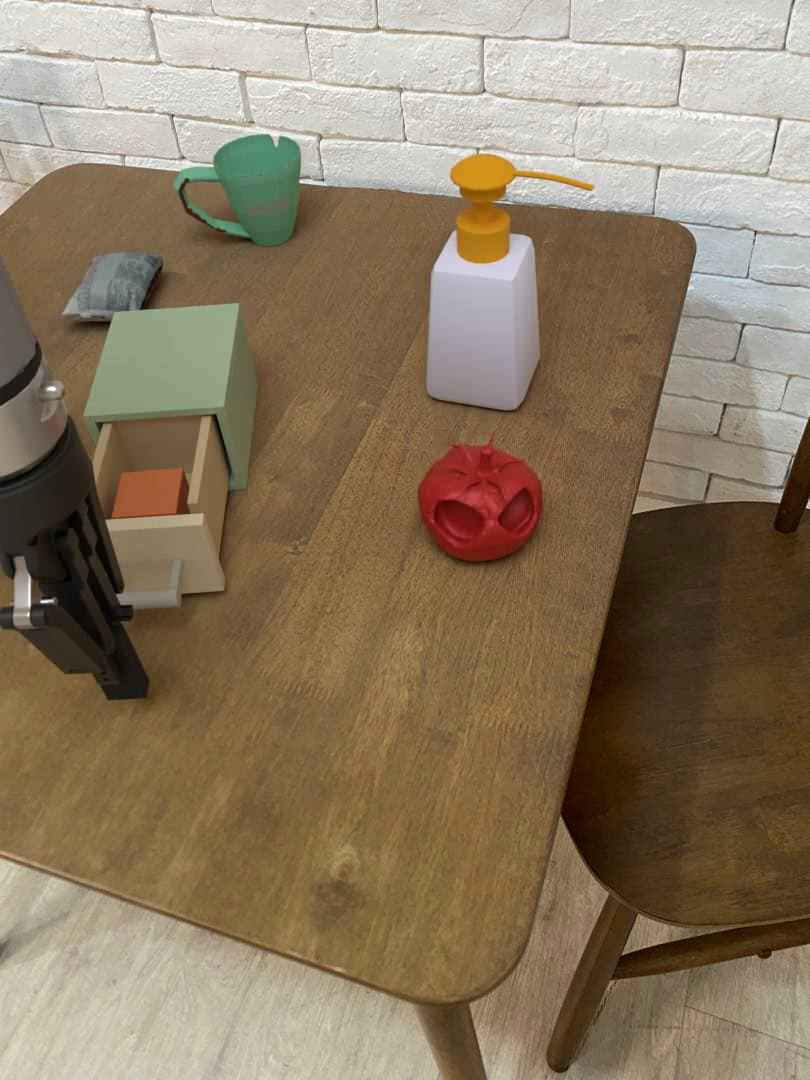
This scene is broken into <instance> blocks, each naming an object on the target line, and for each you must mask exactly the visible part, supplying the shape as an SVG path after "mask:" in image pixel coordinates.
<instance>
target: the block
mask: <svg viewBox="0 0 810 1080" xmlns="http://www.w3.org/2000/svg"><path fill="white" fill-rule="evenodd" d="M189 489H190V488H189V485H188V482H187V479H186V476H185V473H184V470H183V468H177V469H164V470H151V471H138V472H126V473H122V474H121V478H120V482H119V487H118V491H117V496H116V500H115V505H114V509H113V513H112V519H125V518H140V517H155V516H170V515H185V514H191V513H190V511H189V508H188V505H187V501H188V495H189Z"/></svg>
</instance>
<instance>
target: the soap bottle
mask: <svg viewBox="0 0 810 1080" xmlns="http://www.w3.org/2000/svg"><path fill="white" fill-rule="evenodd" d="M516 177H518V178H526V179H527V178H528V179H538V180H544V181H545V180H546V181H551V182H555V183H560V184H564V185H568V186H572V187H576V188H579V189H583V190H586V191H590V192H592V191H593V190H594V189H595V187H596V185H595V184H591V183H588V182H584V181H580V180H577V179H574V178H570V177H566V176H562V175H557V174H553V173H545V172H539V171H538V172H537V171H529V170H519V169H517V168H516V167H515V165H514V164H513V163H512V162H511V161H510V160H509V159H506V158H505V157H502V156H501V155H500V156H499V155H497V154H494V153H493V154H492V153H477V154H472V155H470V156H468V157H467V156H466V157H465V158H463V159H461V160H459V161H457V162H456V163H455V165H454V166H452V168H450V173H449V178H450V180H451V182H452V183H453V185H455V186H458V187H459V195H460V196H461V198H462V199H464V200H467V201H468V202H472V204H473V207H470V208H467V209H466V210H464V211H462V212H460V213H459V214H458V216H457V217H456V222H455V230H454V231H452V232H451V234H450V236H449V238H448V240H447V241H446V243H445V245H444V247H443V249H442V251H441V252H440V255H439V256H438V258H437V260H436V261H435V264H434V265H433V267H432V270H431V271H430V272H431V273H430V287H429V288H430V289H429V290H430V291H429V312H428V332H427V351H426V371H425V374H426V375H425V387H426V392H427V394H428V396H430V397H432V398H433V399H436V400H439V401H445V402H452V403H457V404H464V405H470V406H475V407H481V408H488V409H494V410H499V411H513V410H516V409H518V408H519V406H520V405H521V404H522V403H523V401H524V400H525V397H526V395H527V392H528V390H529V387H530V384H531V382H532V379H533V377H534V373H535V372H536V368H537V366H538V363H539V361H540V358H541V344H540V325H539V324H540V323H539V309H538V308H539V307H538V305H539V304H538V288H537V271H536V253H535V247H534V244H533V241H532V238H531V237H529V236H527V235H525V234H518V233H511V217H510V215H509V214H508V211H507V212H506V211H505V210H503V209H501V208H499V207H495V206H494V202H496V201H498V200H500V199H502V198H503V197H504V196H505V195H506V194H507V186H508V185H510V184H511V183H512V182H513V181H514V180H515V179H516Z"/></svg>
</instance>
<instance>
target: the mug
mask: <svg viewBox="0 0 810 1080" xmlns="http://www.w3.org/2000/svg"><path fill="white" fill-rule="evenodd" d="M212 164H213V165H212V166H193V167H192V166H191V167H187V168H182V169H181V170H180V172H179V174H178V176H177V177H176V179H175V180H174V182H173V185H172V186H173V188H174V190H175V192H176V194H177V197H178V199H179V201H180V203H181V206H182V208H183V211H184V213H185V214H187V215H188V216H190V217H191V218H193V219H195V220H196V221H198V222H200V223H201V224H203V225H204V226H205V227H207V228H208V229H210V230H212V231H214V232H215V233H220V234H225V235H231V236H236V237H241V238H246V239H251V240H252V242H253V243H254V244H256V245H258V246H262V247H275V246H279V245H282V244H285V243H286V242H287V241H289V240H290V239H291V237H292V236H293V233H294V228H295V223H296V220H297V214H298V207H299V200H300V180H301V172H302V171H301V169H302V150H301V146H300V145H299V143H298V142H297V141H296V140H294V139H292V138H291V137H288V136H286V135H279V136H278V139H277V146H276V144H275V143H274V139H273V137H272V136H271V135H270V133H259V134H250V135H246V136H243V137H238V138H236V139H234V140H231V141H228V142H226V143H225V144H224V145H222V146H220V147H219V148H218V149H217V150H216V152H215V153H214V154H213V158H212ZM197 182H205V183H219V184H221V186H222V187H223V190H224V192H225V195H226V197H227V199H228V202H229V205H230V206H231V209H232V211H234V213H235V215H236V217H237V219H238V220H239V222H240V223H238V222H232V221H227V220H222V219H217V218H214V217H213V216H211V215H210V214H209V213H207V212H205V210H203V209H201V208H200V207H199V206H197V205H195V204H194V203H193V202H191V200H189V198H188V195H187V190H186V186H187V185H189V184H193V183H197Z"/></svg>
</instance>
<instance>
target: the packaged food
mask: <svg viewBox="0 0 810 1080" xmlns="http://www.w3.org/2000/svg"><path fill="white" fill-rule="evenodd" d="M163 268H164V260H163V257H161V256H160V255H158V254H153V253H143V252H135V251H134V252H133V251H123V252H110V253H107V254H103V255H102V254H101V255H98V256H94V257H93V258H91V259H90V260H89V263H88V267H87V269H86V271H85V273H84V275H83V277H82V278H81V280H80V282H79V284H78V286H77V289H76V290H75V291H74V293H73V294H72V296H71V298H70V299H69V300H68V302H67V305H65V308H64V310H63V311H62V313H61V314H59V315H56V317H57V319H58V320H59V321H63V322H65V321H71V320H74V321H75V320H76V321H78V322H79V321H80V322H111V321H112V318H113V315H114V312H123V311H137V310H146V306H147V303H148V300H149V298H150V296H151V295H152V292H153V291H154V290H155V289H154V288H155V287H156V285H157V283H158V281H159V279H160V277H161V275H162V272H163Z"/></svg>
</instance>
